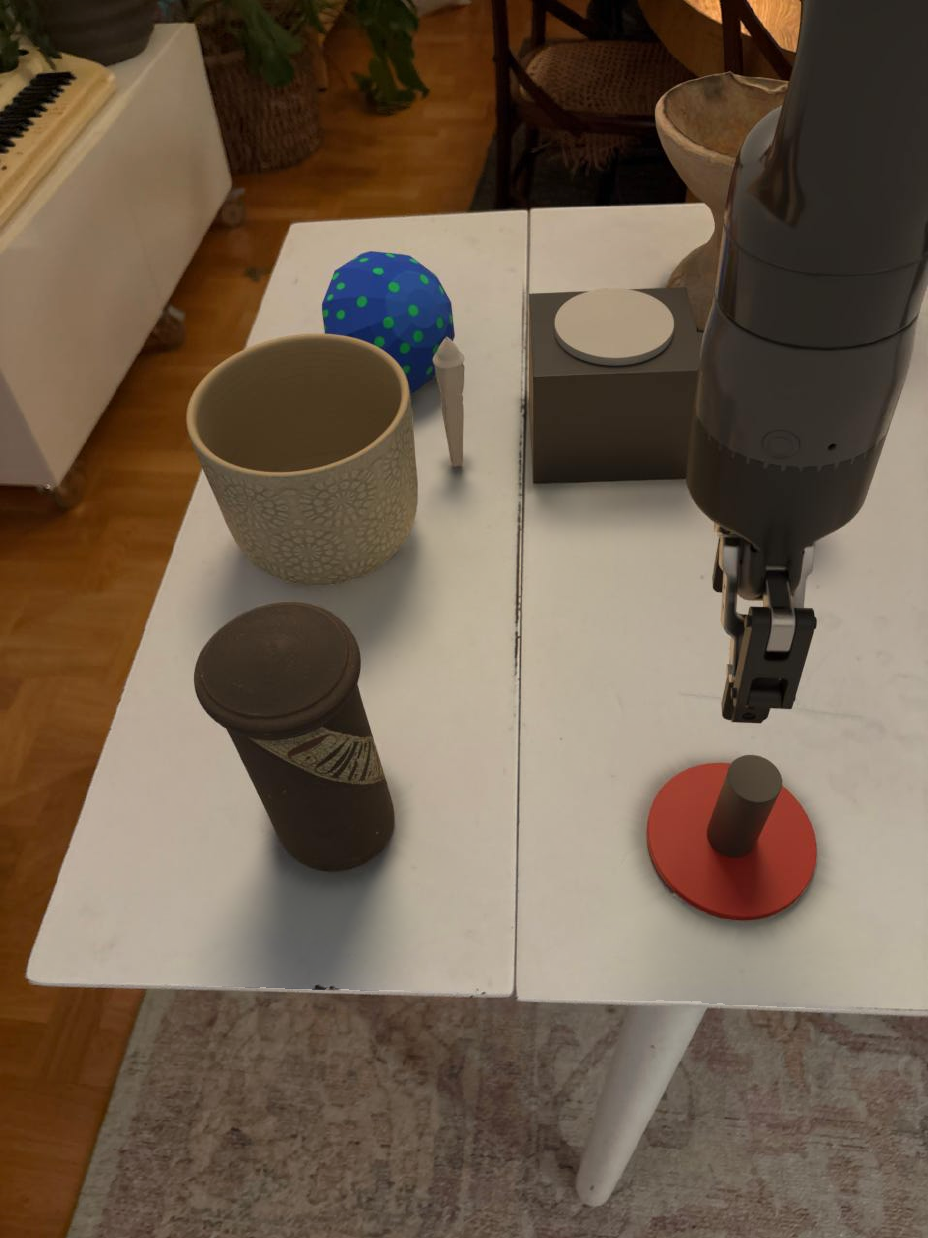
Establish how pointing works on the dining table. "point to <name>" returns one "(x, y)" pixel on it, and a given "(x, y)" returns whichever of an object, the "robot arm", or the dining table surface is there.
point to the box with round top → (611, 384)
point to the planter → (309, 455)
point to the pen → (451, 395)
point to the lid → (732, 839)
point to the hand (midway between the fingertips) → (737, 647)
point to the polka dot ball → (391, 310)
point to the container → (301, 729)
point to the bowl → (710, 158)
